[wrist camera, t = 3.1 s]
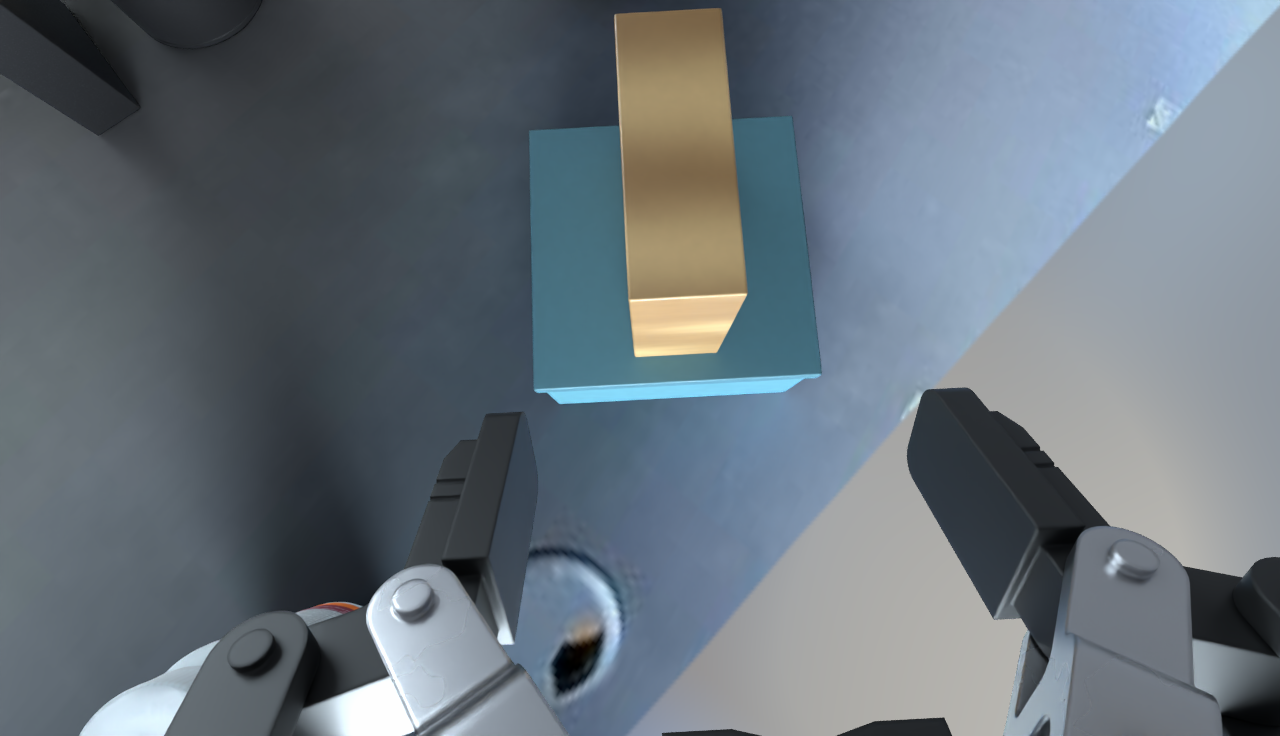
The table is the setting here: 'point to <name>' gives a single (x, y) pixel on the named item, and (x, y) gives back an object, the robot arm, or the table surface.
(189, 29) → the light fixture
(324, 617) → the pill bottle
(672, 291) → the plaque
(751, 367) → the toy box
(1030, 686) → the robot arm
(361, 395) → the table surface
